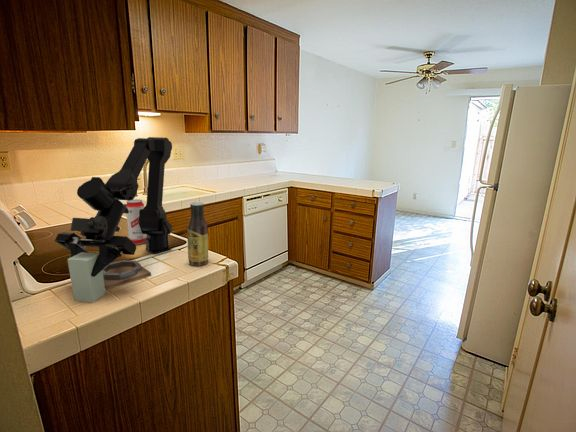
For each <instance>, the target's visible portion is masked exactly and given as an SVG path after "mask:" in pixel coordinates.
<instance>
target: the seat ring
mask: <svg viewBox="0 0 576 432" xmlns="http://www.w3.org/2000/svg"><path fill="white" fill-rule="evenodd" d="M121 266H133V267H134V269H132V270H130V271H126V272H123V273H107V272H108V271H109V270H110V269H114V268H118V267H121ZM141 266H142V264H141V263H139V262H138V261H136V260H123V259H122V260H118V261H112V262H111V263H110V264H108V265H107V266H106V267H105V268H104V269H103V270H102V271H103V278H104V280H122V279H125V278H129V277H132V276H135V275H136V274H137V273H138V272H139V271H140V270H141V269H142V268H141Z"/></svg>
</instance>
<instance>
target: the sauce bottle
mask: <svg viewBox="0 0 576 432" xmlns="http://www.w3.org/2000/svg"><path fill="white" fill-rule="evenodd" d="M189 208H190V219H189V221H188V226H187V229H186V231H187V233H186V234H187V258H188V263H189V265H191V266H195V267H199V266H200V267H201V266H204V265H206V264H207V263H208V262H209V231H208V222H207V221H206V219H205V218H204V217H205V214H204V208H205V203H204V202H202V201H201V202H200V201H195V202H192V203H190V206H189Z"/></svg>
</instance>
